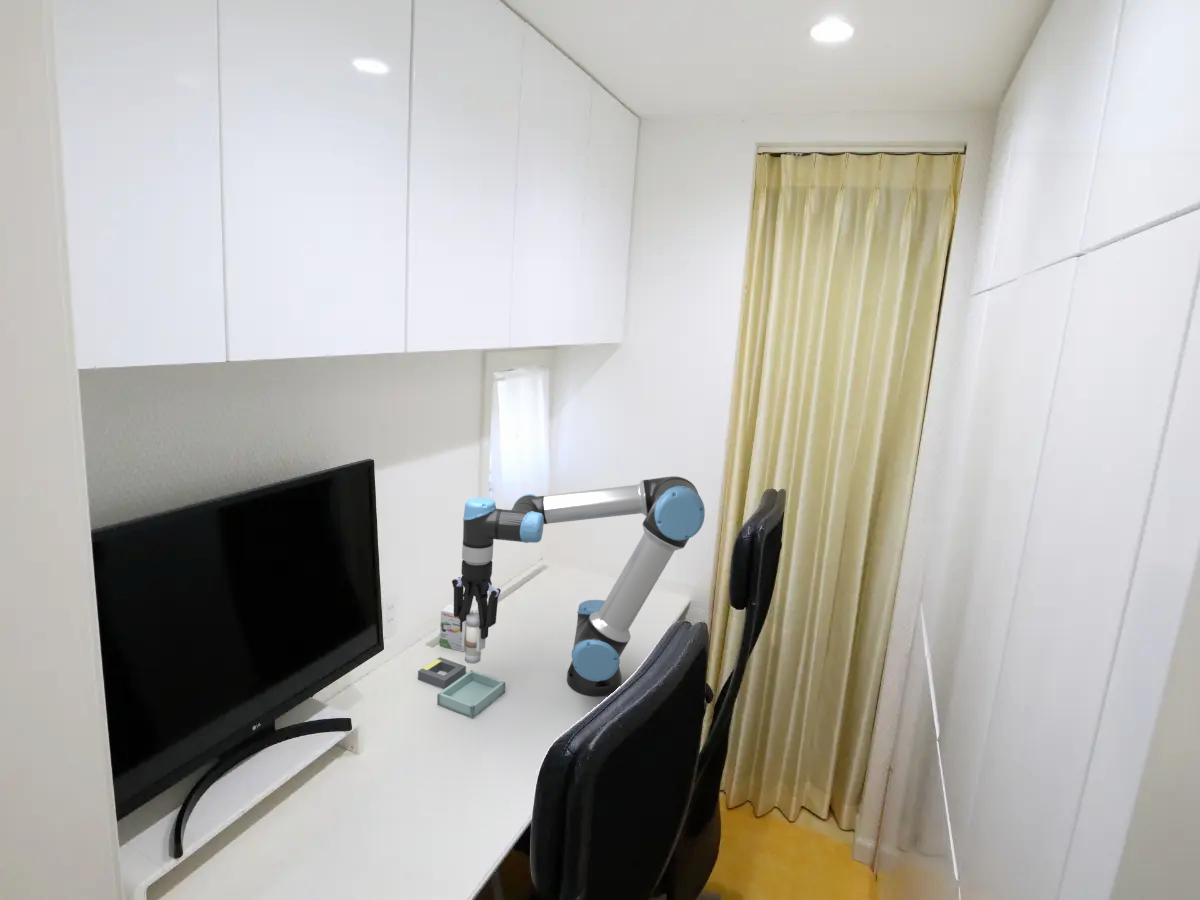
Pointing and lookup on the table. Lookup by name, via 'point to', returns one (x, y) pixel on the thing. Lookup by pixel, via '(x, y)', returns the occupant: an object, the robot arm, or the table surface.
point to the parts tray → (471, 693)
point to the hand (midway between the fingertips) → (473, 646)
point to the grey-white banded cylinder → (472, 639)
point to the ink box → (450, 629)
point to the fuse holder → (441, 681)
